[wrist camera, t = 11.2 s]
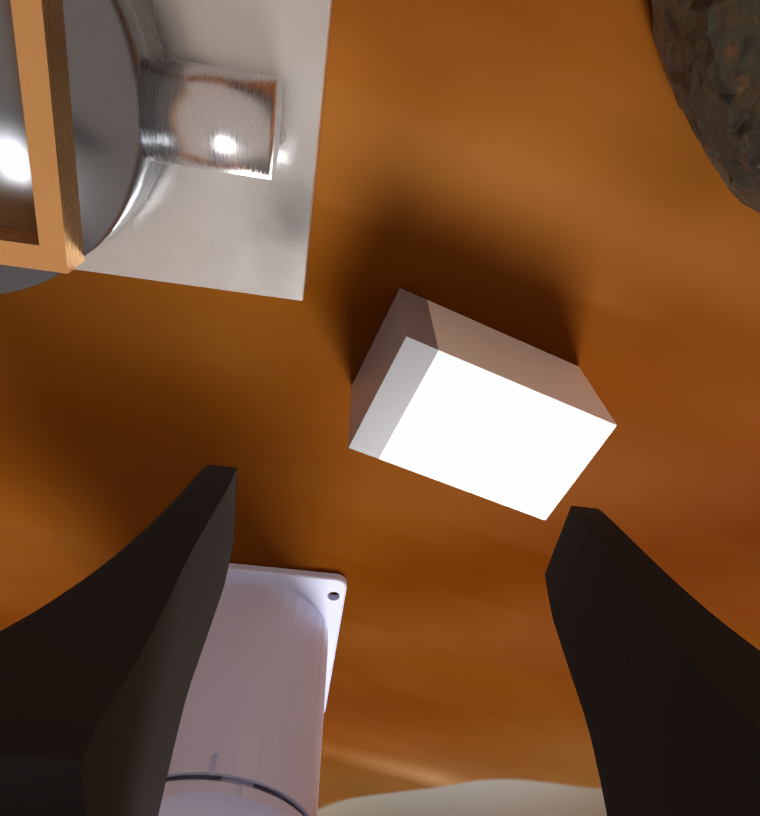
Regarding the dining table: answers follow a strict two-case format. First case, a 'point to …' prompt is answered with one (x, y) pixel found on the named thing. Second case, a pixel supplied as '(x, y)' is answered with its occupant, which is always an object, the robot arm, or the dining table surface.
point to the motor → (161, 140)
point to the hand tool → (717, 81)
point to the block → (474, 408)
